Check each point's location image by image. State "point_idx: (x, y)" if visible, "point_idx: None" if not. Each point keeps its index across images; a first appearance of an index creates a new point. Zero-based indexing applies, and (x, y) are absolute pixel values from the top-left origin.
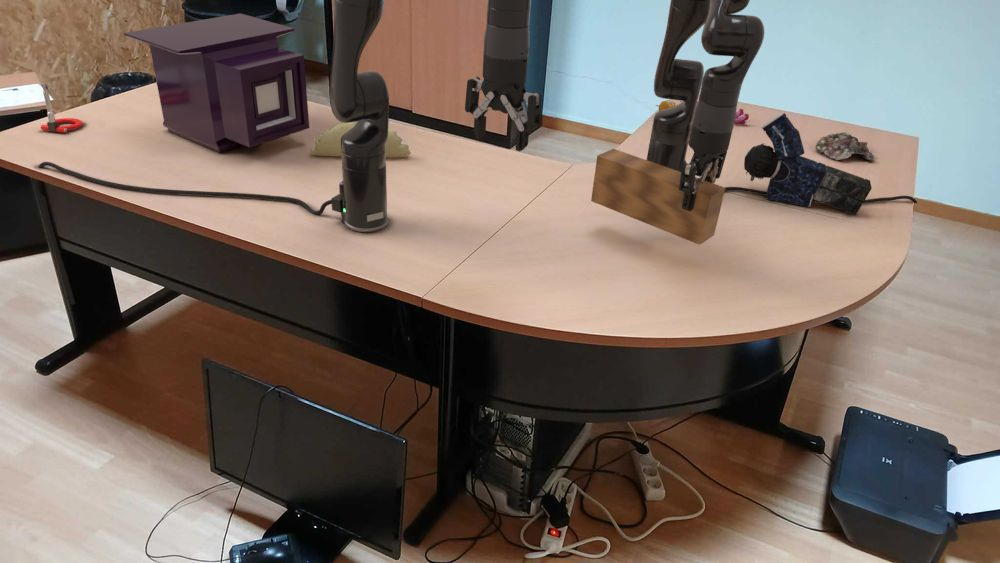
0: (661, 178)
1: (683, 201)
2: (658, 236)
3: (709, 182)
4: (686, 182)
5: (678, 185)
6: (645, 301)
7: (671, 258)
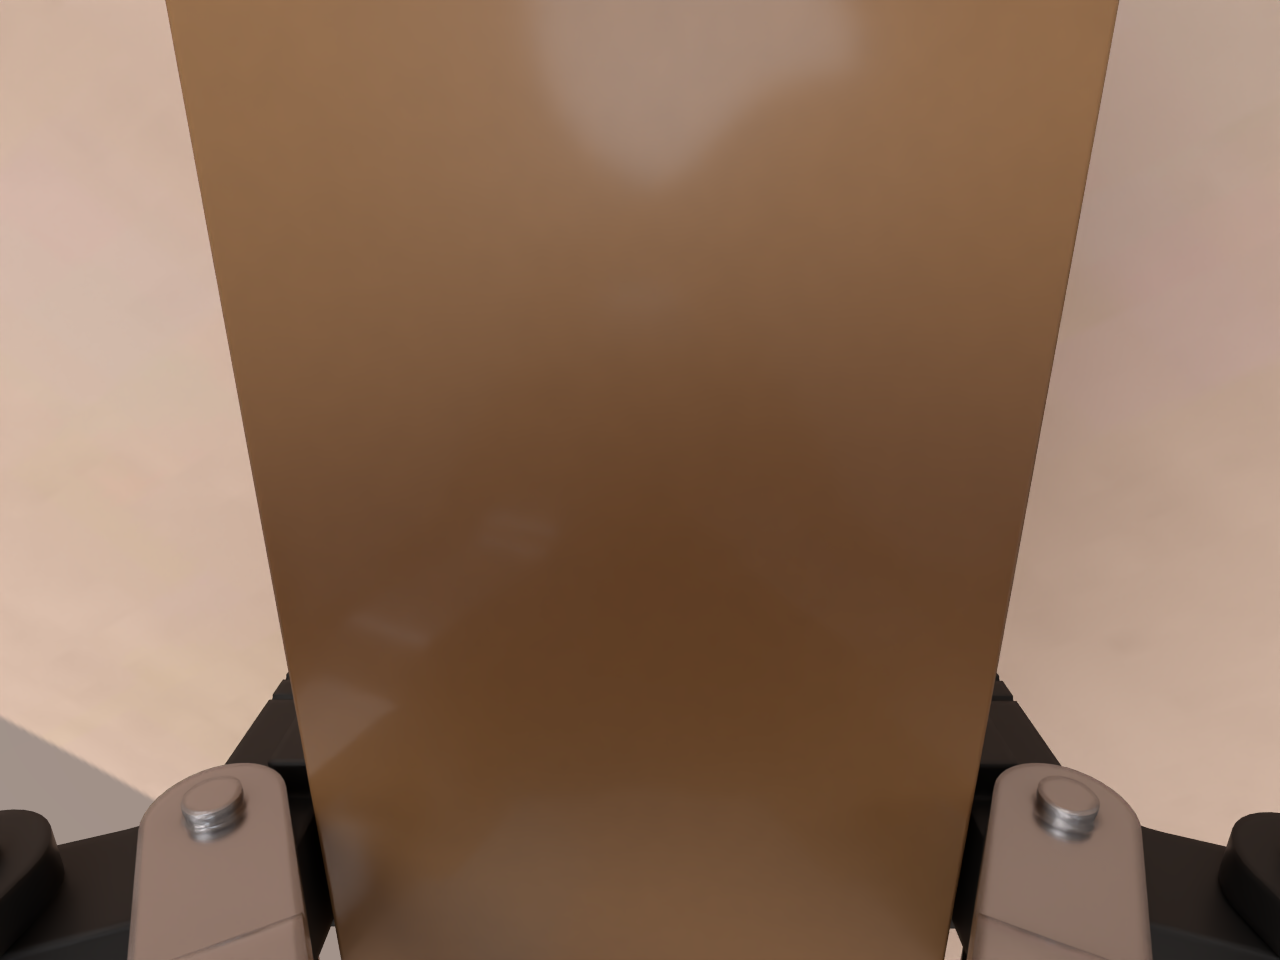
0: (195, 120)
1: (280, 695)
2: None
3: (925, 947)
4: (138, 942)
5: (287, 621)
6: (86, 454)
7: None
